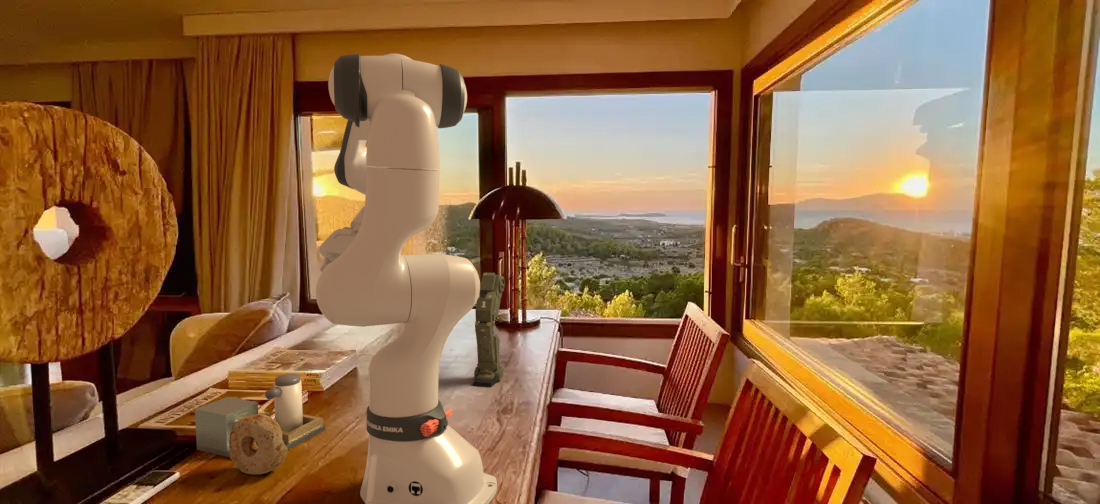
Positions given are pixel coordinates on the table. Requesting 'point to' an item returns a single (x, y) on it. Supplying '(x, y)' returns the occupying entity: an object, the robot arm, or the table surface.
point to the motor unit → (226, 412)
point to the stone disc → (246, 450)
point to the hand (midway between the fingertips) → (337, 273)
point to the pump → (287, 401)
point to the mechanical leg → (488, 331)
